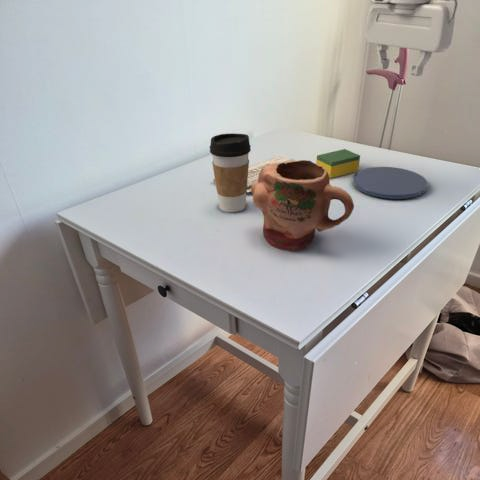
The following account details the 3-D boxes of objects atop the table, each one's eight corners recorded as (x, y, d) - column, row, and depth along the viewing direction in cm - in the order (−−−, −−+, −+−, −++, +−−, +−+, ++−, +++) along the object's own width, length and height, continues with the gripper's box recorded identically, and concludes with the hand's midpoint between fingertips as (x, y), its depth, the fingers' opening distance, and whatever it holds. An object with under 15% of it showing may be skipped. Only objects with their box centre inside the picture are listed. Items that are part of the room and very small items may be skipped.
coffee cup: (239, 218, 90) (237, 146, 80) (206, 210, 93) (200, 139, 84) (257, 202, 96) (258, 133, 86) (226, 195, 99) (222, 128, 89)
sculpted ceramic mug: (355, 236, 83) (368, 165, 74) (338, 267, 75) (349, 192, 66) (263, 217, 90) (263, 151, 81) (237, 244, 82) (235, 173, 73)
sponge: (342, 164, 113) (344, 148, 110) (357, 171, 108) (360, 155, 106) (315, 171, 109) (316, 155, 107) (329, 178, 105) (331, 162, 103)
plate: (387, 167, 110) (388, 161, 109) (441, 189, 99) (443, 183, 98) (337, 181, 104) (338, 176, 103) (389, 207, 92) (390, 201, 92)
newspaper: (245, 198, 98) (244, 187, 96) (214, 187, 106) (212, 177, 104) (312, 172, 108) (312, 161, 107) (280, 164, 116) (279, 154, 115)
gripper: (471, -9, 77) (449, 77, 86) (387, -11, 91) (376, 63, 100) (448, -6, 75) (427, 81, 84) (365, -9, 88) (355, 67, 97)
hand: (399, 71), depth 92 cm, fingers open, 8 cm apart
